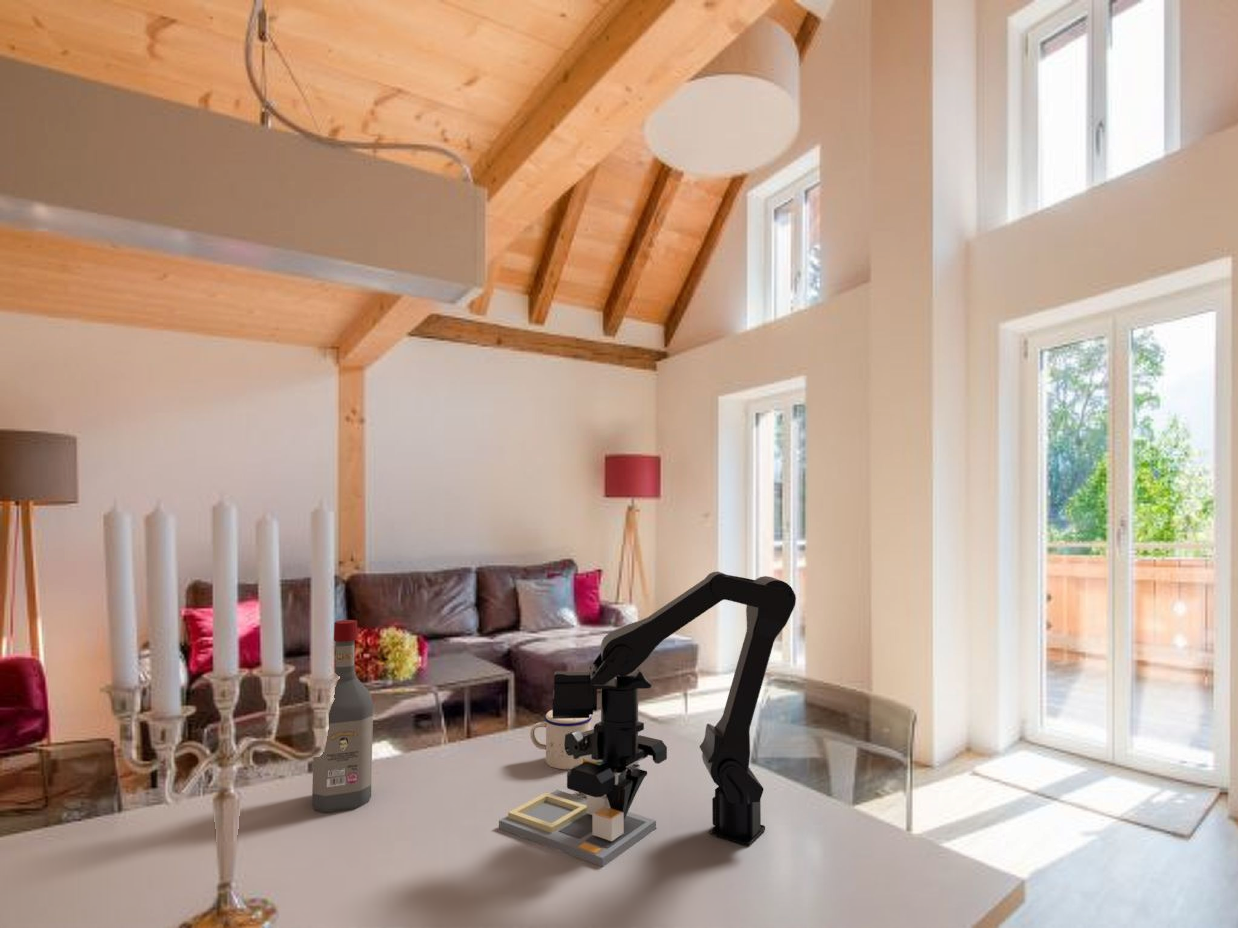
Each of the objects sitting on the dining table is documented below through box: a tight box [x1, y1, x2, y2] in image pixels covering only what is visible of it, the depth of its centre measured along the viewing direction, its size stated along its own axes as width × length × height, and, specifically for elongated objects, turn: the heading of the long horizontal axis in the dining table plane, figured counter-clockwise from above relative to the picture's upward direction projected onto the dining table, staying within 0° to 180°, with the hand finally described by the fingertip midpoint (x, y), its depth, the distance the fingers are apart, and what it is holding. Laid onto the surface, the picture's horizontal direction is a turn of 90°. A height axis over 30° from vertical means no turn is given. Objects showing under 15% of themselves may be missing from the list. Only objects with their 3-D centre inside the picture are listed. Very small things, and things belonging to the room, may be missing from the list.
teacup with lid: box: [530, 709, 592, 770], centre depth 136 cm, size 12×9×12 cm
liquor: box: [311, 619, 374, 814], centre depth 119 cm, size 9×9×30 cm
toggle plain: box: [586, 794, 611, 815], centre depth 110 cm, size 4×3×3 cm
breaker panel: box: [498, 789, 657, 868], centre depth 108 cm, size 20×14×2 cm
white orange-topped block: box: [592, 806, 624, 841], centre depth 103 cm, size 4×3×3 cm
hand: (619, 821), depth 105 cm, fingers closed
